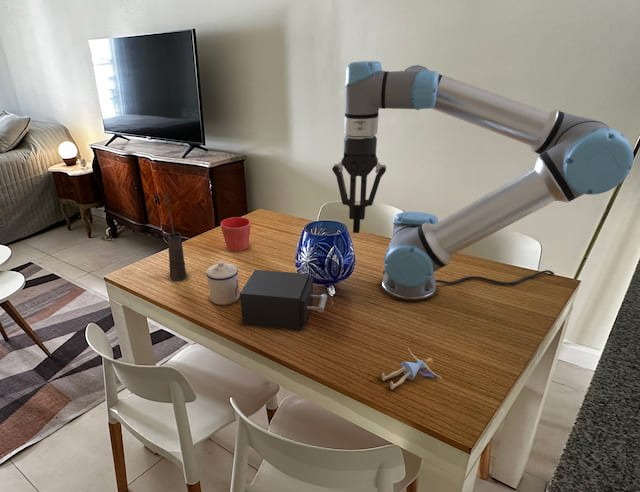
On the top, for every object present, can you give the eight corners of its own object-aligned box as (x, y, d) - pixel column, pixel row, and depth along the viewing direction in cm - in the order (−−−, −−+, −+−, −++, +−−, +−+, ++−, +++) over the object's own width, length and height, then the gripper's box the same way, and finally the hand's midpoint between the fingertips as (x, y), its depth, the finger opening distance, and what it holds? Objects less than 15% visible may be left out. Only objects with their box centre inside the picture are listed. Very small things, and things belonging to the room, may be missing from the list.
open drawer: (328, 303, 126) (329, 279, 122) (321, 328, 116) (321, 302, 112) (263, 297, 130) (262, 273, 127) (251, 321, 120) (249, 296, 116)
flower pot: (258, 244, 166) (256, 219, 161) (240, 255, 158) (238, 229, 153) (235, 239, 171) (233, 214, 167) (217, 250, 163) (214, 224, 159)
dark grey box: (309, 303, 128) (309, 273, 124) (299, 330, 117) (299, 298, 112) (256, 298, 132) (254, 269, 127) (242, 324, 120) (239, 293, 116)
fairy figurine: (371, 357, 100) (415, 338, 104) (372, 373, 103) (415, 354, 106) (403, 389, 91) (451, 367, 94) (403, 406, 93) (450, 384, 97)
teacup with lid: (243, 302, 130) (240, 266, 125) (212, 308, 128) (207, 271, 123) (234, 283, 140) (231, 249, 135) (205, 288, 138) (200, 254, 133)
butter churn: (194, 283, 142) (181, 197, 128) (163, 286, 141) (147, 199, 127) (195, 270, 150) (182, 187, 136) (165, 273, 149) (150, 190, 135)
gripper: (330, 138, 103) (329, 235, 114) (388, 139, 100) (381, 238, 111) (334, 132, 109) (333, 224, 120) (390, 132, 106) (383, 226, 117)
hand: (356, 230), depth 116 cm, fingers closed
